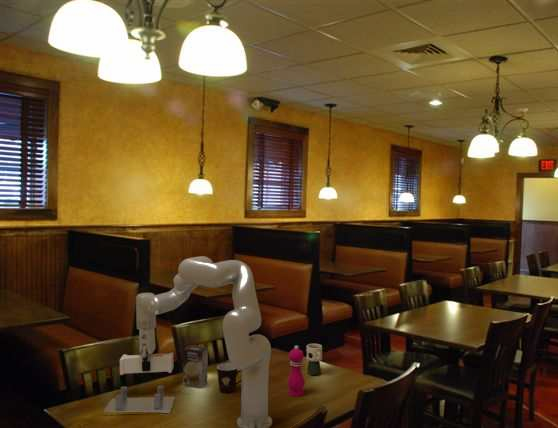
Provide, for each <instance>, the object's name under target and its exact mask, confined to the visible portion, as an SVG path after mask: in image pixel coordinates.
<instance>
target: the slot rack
mask: <svg viewBox="0 0 558 428" xmlns="http://www.w3.org/2000/svg"><path fill="white" fill-rule="evenodd" d="M156 391H157V393H154V396H151V397H150V396H149V397H128V386H121V387H120V394H116V396H115V397H113V398H111V399H110V401H109V402H108V404H107V406H106V407H105V409H104V410H103V413H104V412H162V413H170V414H171V412H172V409H171V408H173V406H174V402H175V396H164V385H157V390H156ZM172 405H173V406H172ZM170 411H171V412H170Z"/></svg>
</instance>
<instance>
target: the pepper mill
mask: <svg viewBox="0 0 558 428" xmlns="http://www.w3.org/2000/svg"><path fill="white" fill-rule="evenodd" d="M288 357H289V360H290V361H289V362H290V363H289V364H290V367H291V368H290V374H289V375H288V378H287V380H286V381H287V382H286V385H287V386H288V391H287V392H288V395H289V396H291V397H301V396H303V395H304V386H305V385H306V382H305V381H306V380H305V378H304V375H303V373H302V366H303V359H304V352H303V350H301V349H300V347H299V346H298V345H294V348H293V349H291V350H290V351H289V353H288Z"/></svg>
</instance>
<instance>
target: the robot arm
mask: <svg viewBox="0 0 558 428" xmlns="http://www.w3.org/2000/svg"><path fill="white" fill-rule="evenodd" d="M177 271H178V272H177V274H176V275H175V276H174V278H173V285H174V287H173V288H171V289H170V290H169V291H167V292H162V293H159V294H155V293H152V292H142V293H138V294H137V295H136V297H135V304H136V305H135V309H136V310H135V311H136V312H135V314H136V316H135V317H136V329H137V330H139V332H138V333H139V334H138V337H139V338H138V345H139V348H138V349H139V355H142V371H150V361H149V354H154V352H155V350H156V332H155V331H156V330H155V328H157V319H156V318H157V316H156V315H161V314H164V313H167V312H170V311H171V312H172V311H174V310H175V309H177V308H179V307H180V306H181V305H182V304H183V303H185V302H186V301H187V300H188V299H189V297H190V295H191V293H192V291H193V290H195V289H196V288H197V287H199V286H202V287H207V288H214V289H215V288H220V287H223V286H226V285H230V284H232V285H233V287H232V292H231V293H232V294H231V295H232V301H233V308H234V309H233V310H230V311H228V312H227V313H226V314H225V316H224V318H223V321H222V333H223V338H224V342H225V347H226V352H227V357H228V360H229V362H230V364H232V366H233V367H234V368H235V369H237V371H239V370H241V379H240V380H241V382H240V383H241V384H240V385H241V387H240V388H241V390H240V393H241V396H240V397H241V398H240V401H241V403H240V407H241V409H240V416H239V417H237V419H236V426H237V427H238V428H270V427H272V425H273V419H272V417H271V416H270V415H269V368H270V361H271V355H272V347H271V343H270V341H269V339H268V338H267V337H266V336H264V335H262V334H258V333H257V334H252V333H253V332H255V331H257V330H258V329H259V328H261V325H262V316H261V311H260V307H259V301H258V296H257V292H256V289H255V287H256V286H255V279H254V274H253V272H252V269H251V268H250V267H249V265H248V264H246V263H244V262H243V261H241V260H238V259H237V260H236V259H235V260H234V259H229V260H222V261H219V262H213V261H212V259H211V258H209V257H207V256H205V255H204V256H203V255H202V256H194V257H189V258H185V259H184V260H182V261H181V262H180V264H179V266H178V270H177ZM249 334H252V335H249ZM146 355H148V357H147V356H146Z"/></svg>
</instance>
